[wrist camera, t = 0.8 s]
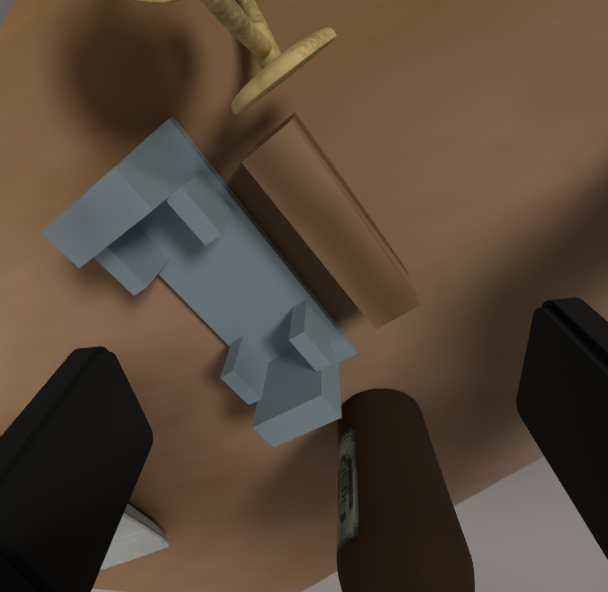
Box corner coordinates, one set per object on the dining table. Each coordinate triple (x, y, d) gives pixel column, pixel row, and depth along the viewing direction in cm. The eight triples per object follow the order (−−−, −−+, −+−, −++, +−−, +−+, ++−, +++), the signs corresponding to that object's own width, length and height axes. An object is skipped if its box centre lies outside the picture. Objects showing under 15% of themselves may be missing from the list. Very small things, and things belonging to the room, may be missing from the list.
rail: (296, 111, 28) (290, 121, 23) (406, 268, 34) (420, 304, 29) (255, 145, 30) (241, 162, 24) (367, 291, 36) (375, 329, 31)
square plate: (180, 521, 58) (172, 549, 54) (60, 562, 66) (46, 588, 63) (32, 410, 46) (10, 437, 43) (-90, 476, 55) (-117, 503, 51)
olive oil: (435, 386, 41) (559, 735, 20) (417, 450, 47) (497, 779, 25) (336, 380, 41) (351, 720, 20) (329, 445, 47) (335, 767, 25)
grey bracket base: (173, 116, 28) (118, 135, 21) (355, 348, 39) (364, 418, 31) (87, 192, 32) (12, 233, 24) (277, 387, 42) (267, 459, 34)
